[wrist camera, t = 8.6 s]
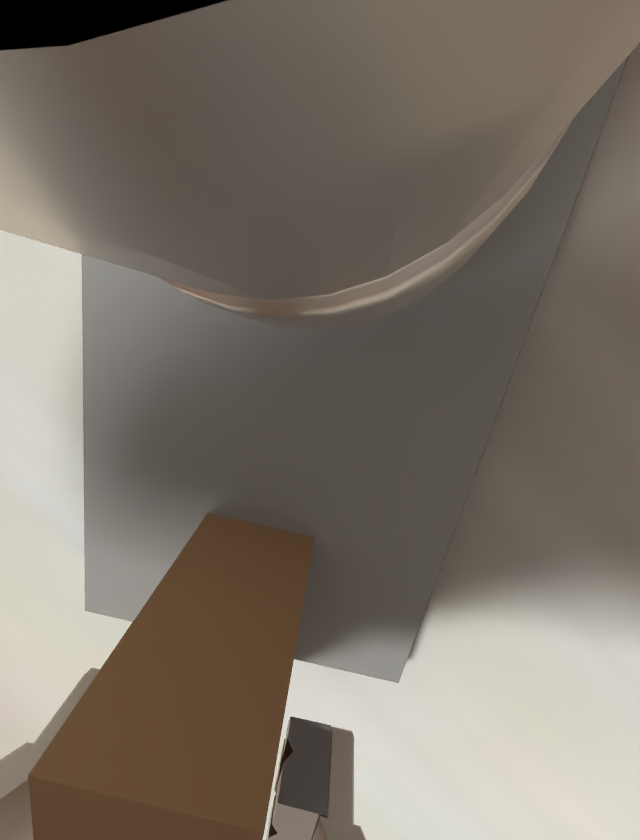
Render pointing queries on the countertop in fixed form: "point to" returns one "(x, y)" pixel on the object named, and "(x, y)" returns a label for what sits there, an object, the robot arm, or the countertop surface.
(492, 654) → the countertop surface
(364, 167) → the plastic bottle
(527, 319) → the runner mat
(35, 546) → the countertop surface
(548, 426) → the countertop surface
